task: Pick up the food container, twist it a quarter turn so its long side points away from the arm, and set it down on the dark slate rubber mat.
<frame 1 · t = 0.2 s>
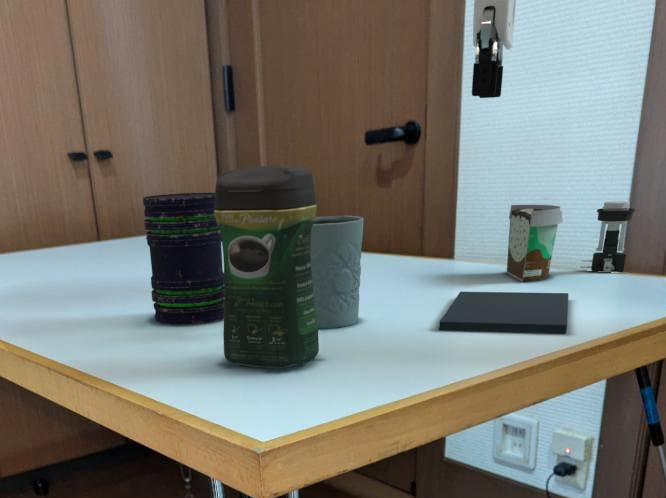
hand: (486, 96, 116), 25 cm above the table, tool pointing down, fingers open, 9 cm apart
black and grey device: (602, 272, 126), on the table
storage jar: (191, 319, 106), on the table
mat: (507, 314, 100), on the table
food container: (534, 277, 124), on the table
grey embossed cup: (321, 322, 101), on the table
coffee jar: (271, 362, 84), on the table
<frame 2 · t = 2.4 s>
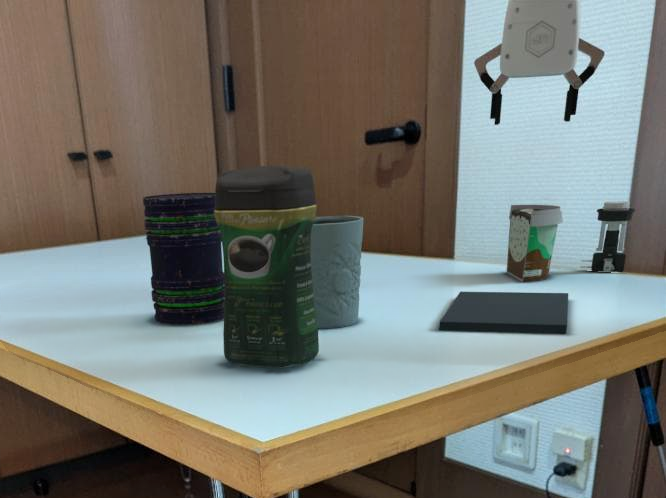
hand: (531, 123, 116), 21 cm above the table, tool pointing down, fingers open, 9 cm apart
nothing on the table moved.
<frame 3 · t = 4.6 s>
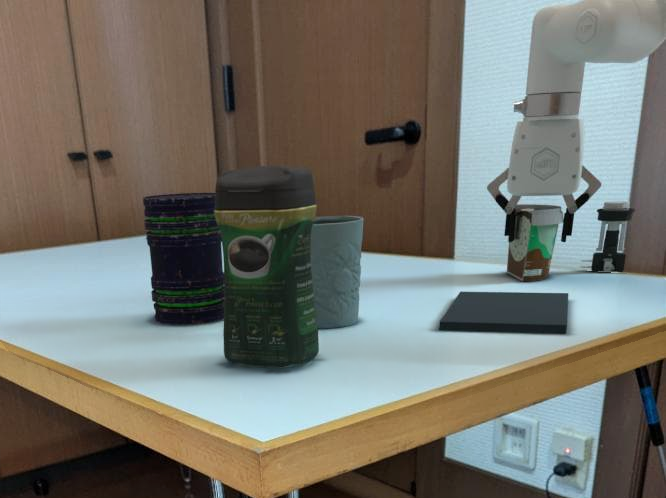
hand: (537, 240, 122), 5 cm above the table, tool pointing down, fingers closed on food container, 7 cm apart
food container: (534, 277, 124), on the table, touching gripper
everything else where it was.
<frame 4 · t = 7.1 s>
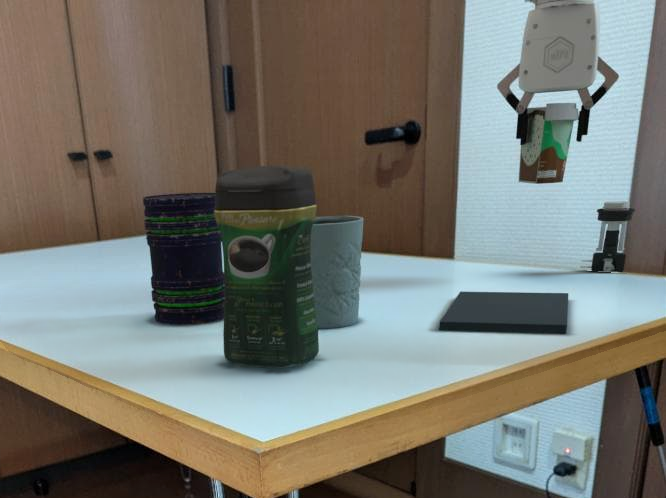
hand: (550, 142, 115), 19 cm above the table, tool pointing down, fingers closed on food container, 7 cm apart
food container: (547, 183, 118), point 13 cm above the table, touching gripper
everything else where it was.
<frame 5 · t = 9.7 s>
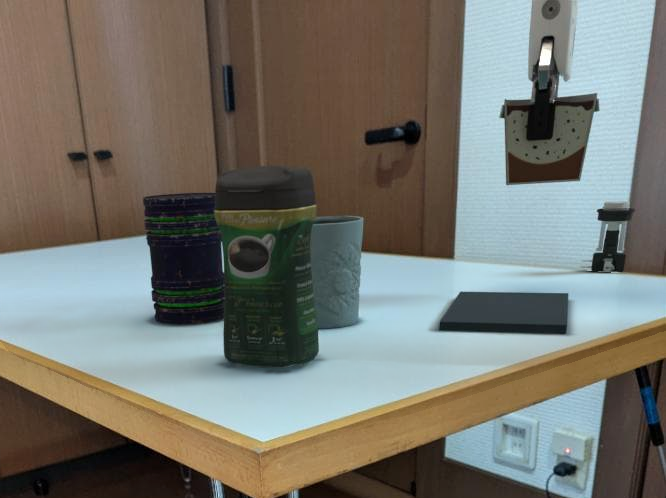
hand: (540, 138, 105), 19 cm above the table, tool pointing down, fingers closed on food container, 7 cm apart
food container: (537, 184, 107), point 14 cm above the table, touching gripper
everything else where it was.
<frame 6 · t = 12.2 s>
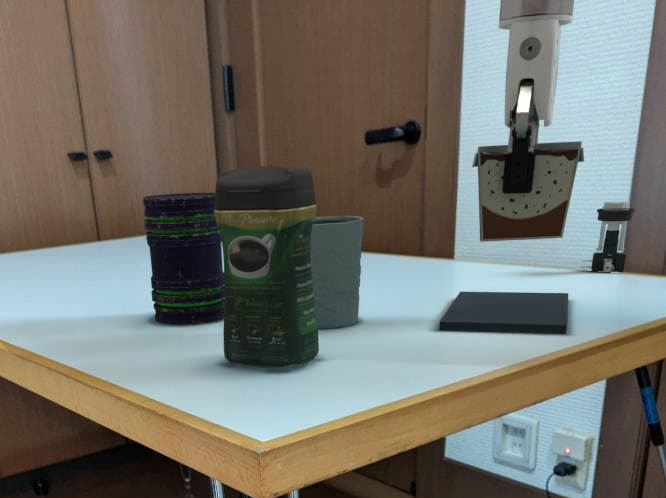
hand: (519, 189, 93), 14 cm above the table, tool pointing down, fingers closed on food container, 7 cm apart
food container: (514, 239, 96), point 9 cm above the table, touching gripper
everything else where it was.
when the fingers open (6 cm above the table, at t = 14.6 s): food container stays where it is, resting on mat.
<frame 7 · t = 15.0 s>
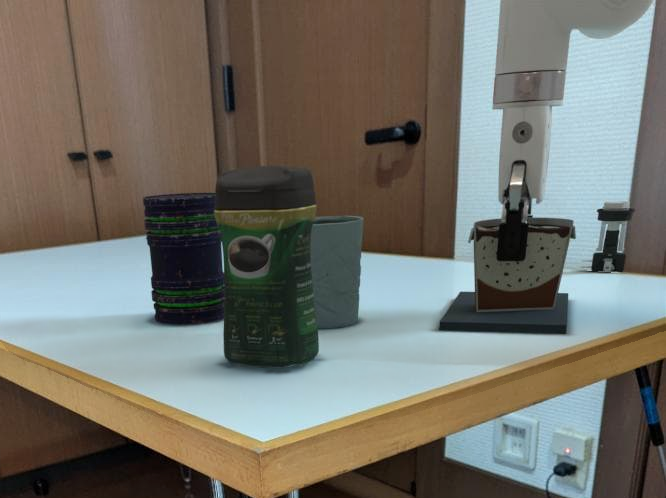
hand: (513, 255, 96), 7 cm above the table, tool pointing down, fingers open, 9 cm apart
food container: (508, 307, 99), point 1 cm above the table, touching mat
everything else where it was.
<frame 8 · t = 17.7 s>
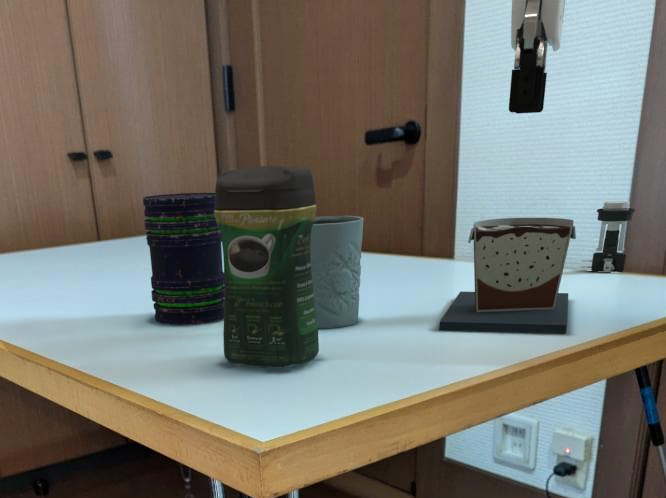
hand: (526, 112, 90), 22 cm above the table, tool pointing down, fingers open, 9 cm apart
nothing on the table moved.
at the end: food container inside the target area on the mat (0.2 cm from its centre), point 0.8 cm above the mat's base; food container tilted 0°; the gripper is holding nothing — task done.
